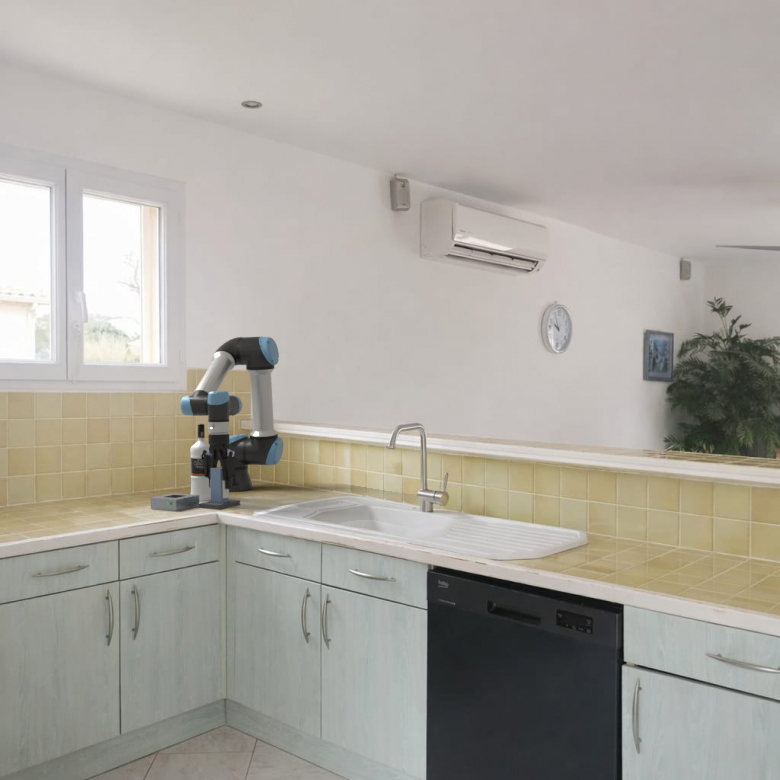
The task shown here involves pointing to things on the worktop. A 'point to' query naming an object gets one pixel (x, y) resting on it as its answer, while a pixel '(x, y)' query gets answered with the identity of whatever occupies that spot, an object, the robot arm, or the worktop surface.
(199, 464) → the vodka
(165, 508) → the block
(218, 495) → the plug
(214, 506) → the dark grey flat frame
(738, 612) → the worktop surface
